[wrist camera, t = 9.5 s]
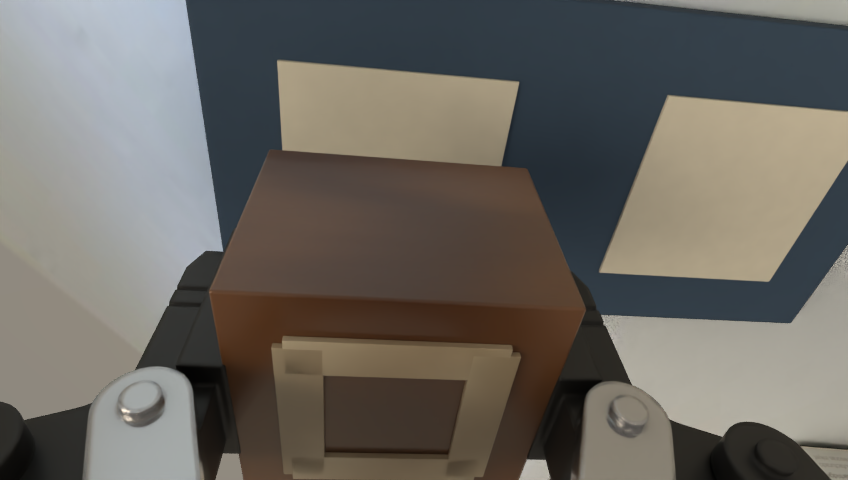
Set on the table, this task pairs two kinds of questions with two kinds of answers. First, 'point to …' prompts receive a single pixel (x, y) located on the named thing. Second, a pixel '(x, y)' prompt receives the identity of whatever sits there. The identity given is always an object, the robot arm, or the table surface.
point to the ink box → (830, 461)
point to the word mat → (565, 128)
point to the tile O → (391, 319)
